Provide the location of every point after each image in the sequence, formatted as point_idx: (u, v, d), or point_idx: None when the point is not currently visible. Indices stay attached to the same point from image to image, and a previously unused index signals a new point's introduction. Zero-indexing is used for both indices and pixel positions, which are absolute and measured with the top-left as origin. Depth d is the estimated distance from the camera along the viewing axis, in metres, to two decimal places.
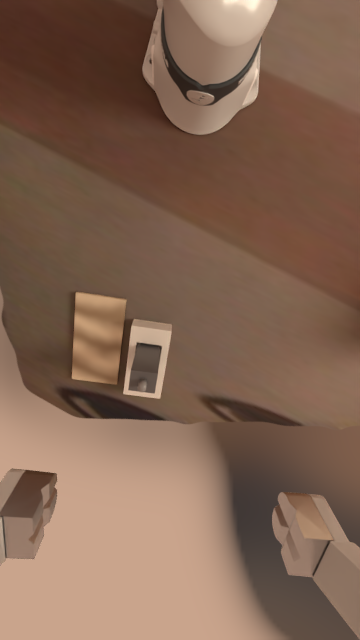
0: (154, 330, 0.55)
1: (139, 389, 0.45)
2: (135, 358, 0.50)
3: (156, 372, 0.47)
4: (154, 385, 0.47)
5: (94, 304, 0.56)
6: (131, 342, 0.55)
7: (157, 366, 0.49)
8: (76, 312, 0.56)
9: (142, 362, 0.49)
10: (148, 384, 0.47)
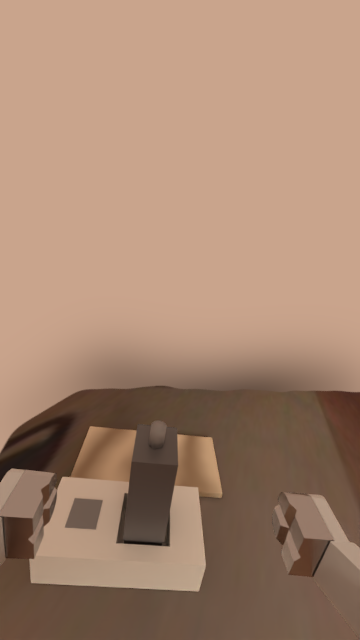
0: (198, 527, 0.29)
1: (156, 423, 0.25)
2: None
3: (177, 465, 0.24)
4: (150, 460, 0.24)
5: (202, 454, 0.42)
6: None
7: None
8: (187, 436, 0.45)
9: None
10: (152, 451, 0.25)
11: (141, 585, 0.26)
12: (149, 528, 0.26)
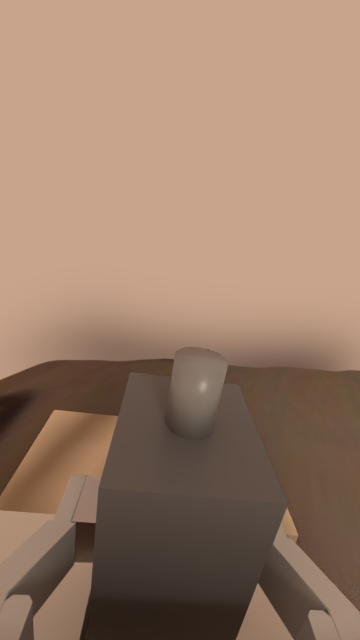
0: None
1: (192, 351, 0.08)
2: None
3: None
4: (177, 483, 0.06)
5: None
6: None
7: None
8: None
9: None
10: (178, 446, 0.07)
11: None
12: None
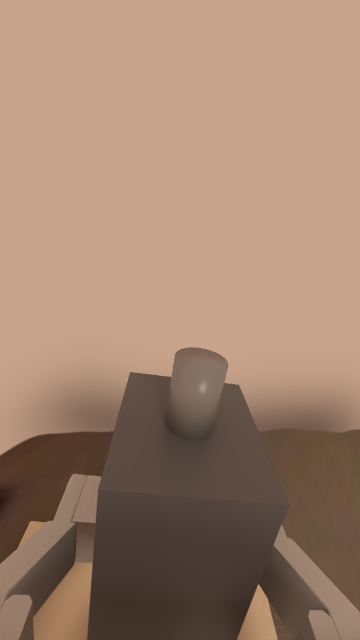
0: None
1: (192, 352, 0.08)
2: None
3: None
4: (177, 484, 0.06)
5: None
6: None
7: None
8: None
9: None
10: (178, 447, 0.07)
11: None
12: None
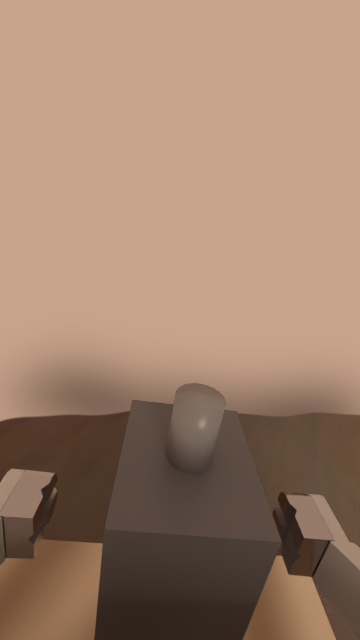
0: None
1: (192, 389, 0.08)
2: None
3: None
4: (177, 522, 0.06)
5: None
6: None
7: None
8: None
9: None
10: (178, 481, 0.07)
11: None
12: None
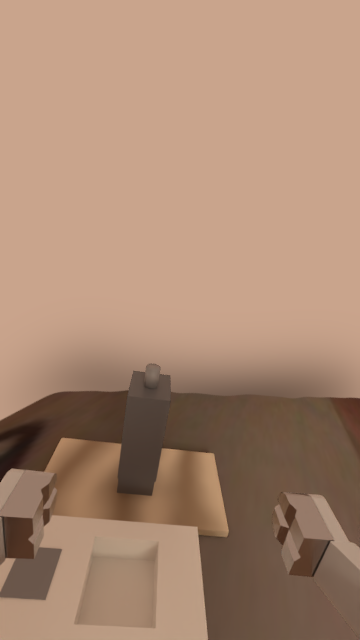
0: (198, 592, 0.20)
1: (151, 365, 0.27)
2: None
3: None
4: (145, 396, 0.26)
5: (202, 476, 0.33)
6: (156, 528, 0.24)
7: (166, 420, 0.26)
8: (183, 452, 0.36)
9: None
10: (146, 389, 0.27)
11: None
12: (142, 466, 0.28)
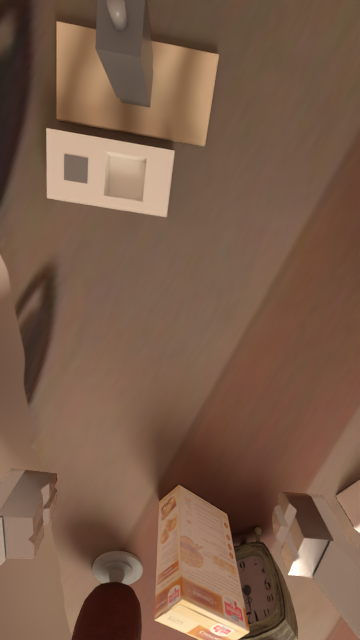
0: (166, 189, 0.37)
1: None
2: (149, 27, 0.27)
3: (141, 55, 0.25)
4: (113, 48, 0.24)
5: (198, 88, 0.36)
6: (145, 149, 0.35)
7: (143, 69, 0.27)
8: (185, 50, 0.34)
9: (146, 38, 0.27)
10: (115, 33, 0.24)
11: None
12: (134, 94, 0.32)
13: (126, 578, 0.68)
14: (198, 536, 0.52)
